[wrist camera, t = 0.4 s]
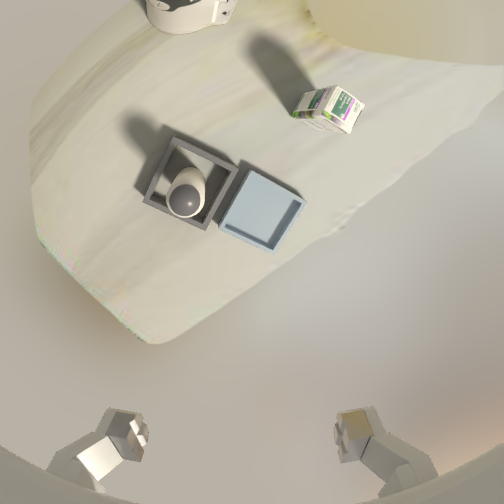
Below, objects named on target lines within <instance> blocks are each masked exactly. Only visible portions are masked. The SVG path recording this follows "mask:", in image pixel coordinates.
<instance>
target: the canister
mask: <svg viewBox="0 0 504 504" xmlns="http://www.w3.org/2000/svg"><path fill="white" fill-rule="evenodd" d="M204 201H205V177H204V175H203V173H202V172H201V171H200V170H199V169H197V168H194V167H187V168H184V169H182V170H181V171H180V172H179V173H178V175H177V176H176V178H175V180H174V181H173V183H172V185H171V186H170V188H169V190H168V192H167V195H166V203H167V206H168V208H169V210H170V211H171V212H172V213H173V214H175V215H176V216H179V217H183V218H188V217H192V216H194V215H196V214H197V213H199V212H200V210H201V209H202V207H203V205H204Z"/></svg>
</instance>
